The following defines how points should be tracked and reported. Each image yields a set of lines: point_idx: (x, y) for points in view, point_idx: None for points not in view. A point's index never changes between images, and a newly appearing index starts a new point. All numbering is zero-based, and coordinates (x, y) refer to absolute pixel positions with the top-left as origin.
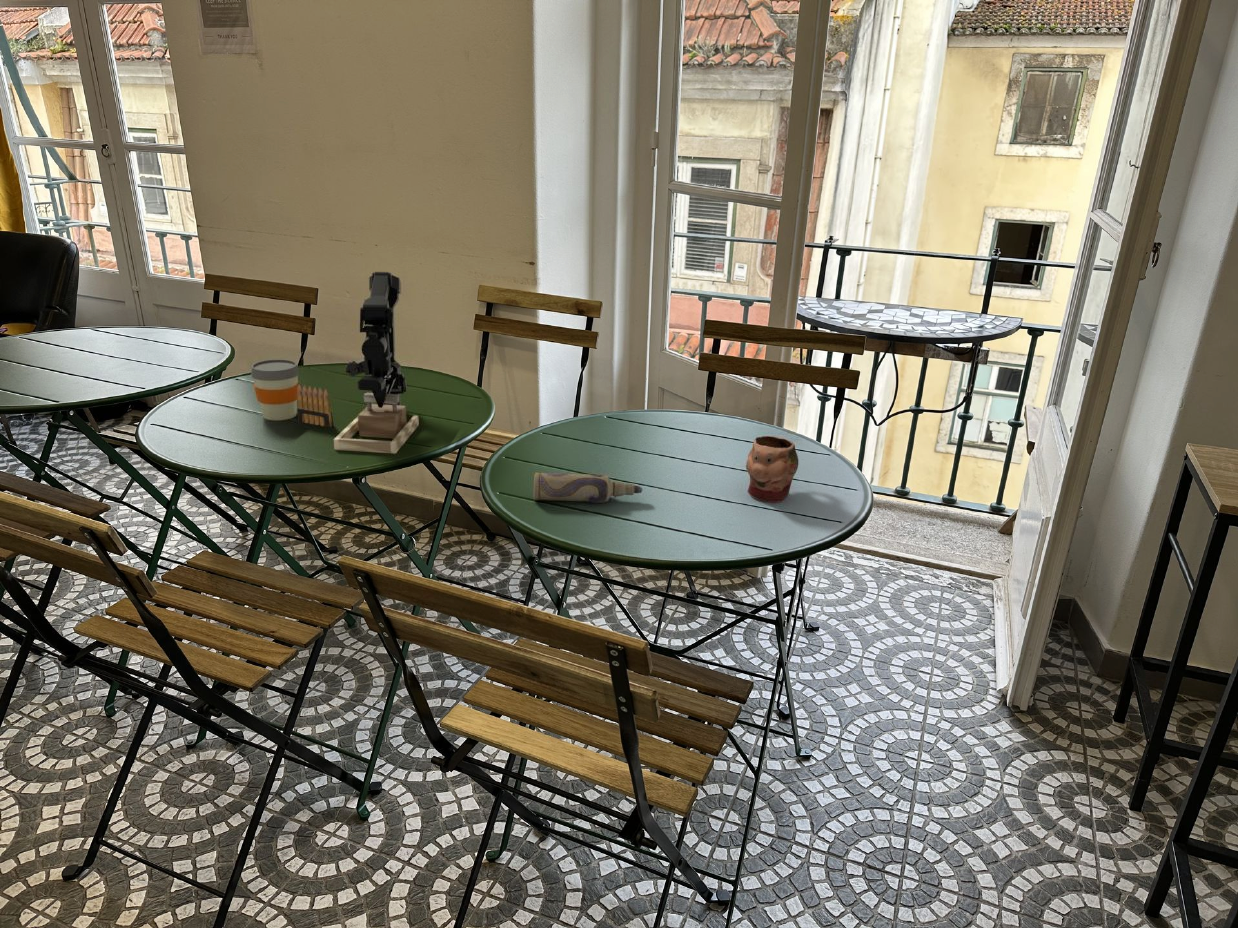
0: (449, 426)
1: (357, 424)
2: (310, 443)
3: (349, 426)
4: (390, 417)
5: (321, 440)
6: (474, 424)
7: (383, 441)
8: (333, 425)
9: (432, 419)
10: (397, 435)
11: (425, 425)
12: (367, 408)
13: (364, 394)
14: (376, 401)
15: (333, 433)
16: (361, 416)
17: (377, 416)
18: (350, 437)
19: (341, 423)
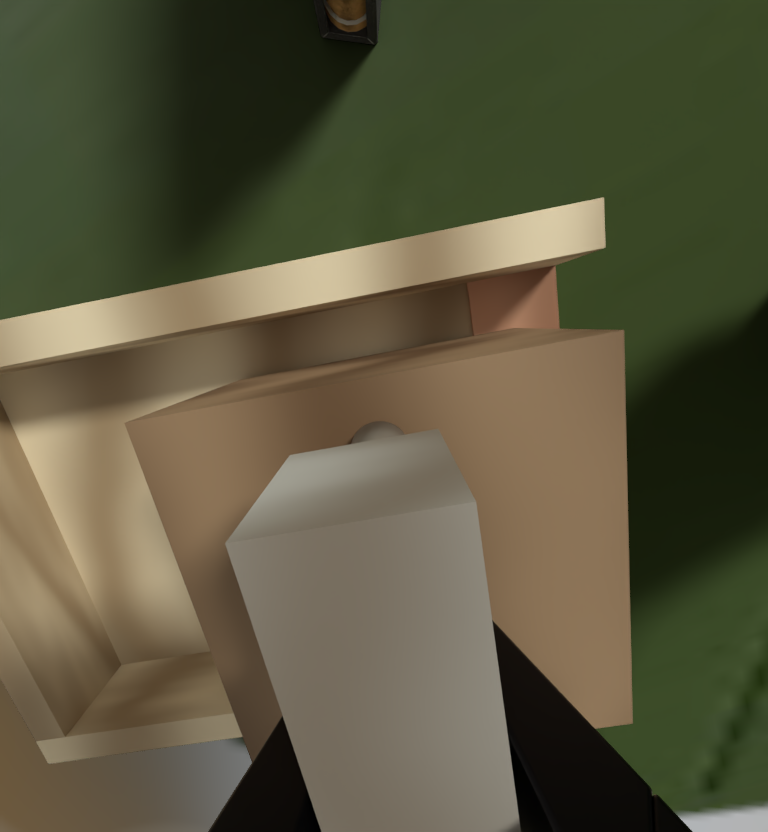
0: (643, 715)
1: (327, 305)
2: (23, 42)
3: (160, 311)
4: (246, 739)
5: (121, 95)
6: (698, 797)
7: (31, 698)
8: (373, 11)
9: (749, 602)
10: (175, 725)
11: (633, 608)
12: (353, 441)
13: (273, 547)
14: (278, 727)
15: (294, 98)
16: (149, 459)
17: (205, 632)
18: (170, 340)
19: (536, 16)
